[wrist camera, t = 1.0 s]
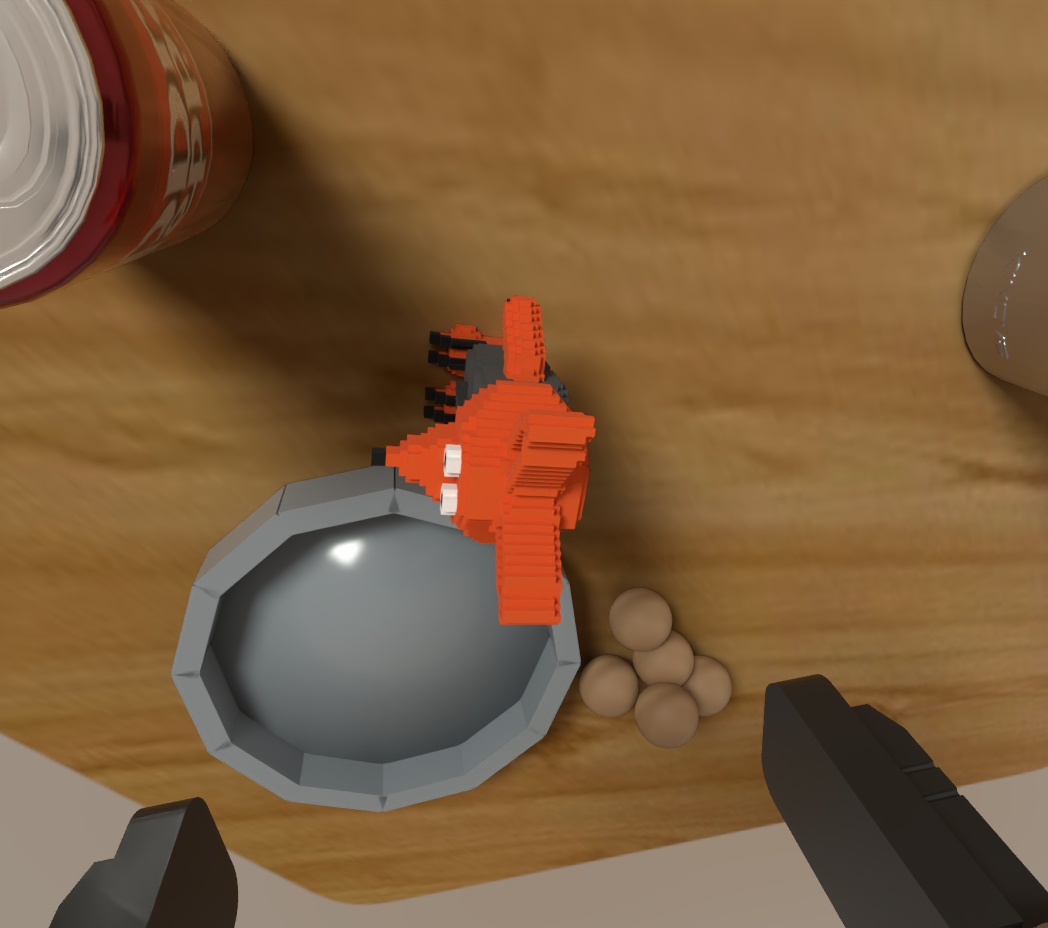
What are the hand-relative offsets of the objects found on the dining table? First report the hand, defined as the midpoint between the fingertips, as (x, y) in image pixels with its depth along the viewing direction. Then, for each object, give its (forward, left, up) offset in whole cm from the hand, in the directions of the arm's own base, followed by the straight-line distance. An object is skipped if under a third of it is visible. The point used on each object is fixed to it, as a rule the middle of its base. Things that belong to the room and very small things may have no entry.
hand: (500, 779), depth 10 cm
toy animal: (-1, 0, -19) cm, 19 cm away
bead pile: (-8, +15, -18) cm, 25 cm away
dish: (+4, +11, -18) cm, 22 cm away
